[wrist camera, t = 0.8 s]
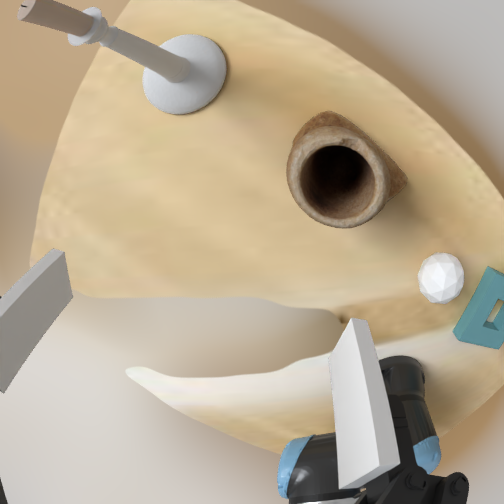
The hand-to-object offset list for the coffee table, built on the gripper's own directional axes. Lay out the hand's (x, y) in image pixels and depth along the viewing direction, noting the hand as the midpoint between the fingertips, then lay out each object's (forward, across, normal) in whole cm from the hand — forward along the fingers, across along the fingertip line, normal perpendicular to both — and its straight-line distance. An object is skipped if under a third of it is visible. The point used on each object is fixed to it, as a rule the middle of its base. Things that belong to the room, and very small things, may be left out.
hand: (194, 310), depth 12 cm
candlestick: (+33, +13, -11) cm, 37 cm away
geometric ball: (+27, -31, +8) cm, 42 cm away
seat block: (+25, -50, +12) cm, 57 cm away
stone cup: (+30, -12, -2) cm, 33 cm away
